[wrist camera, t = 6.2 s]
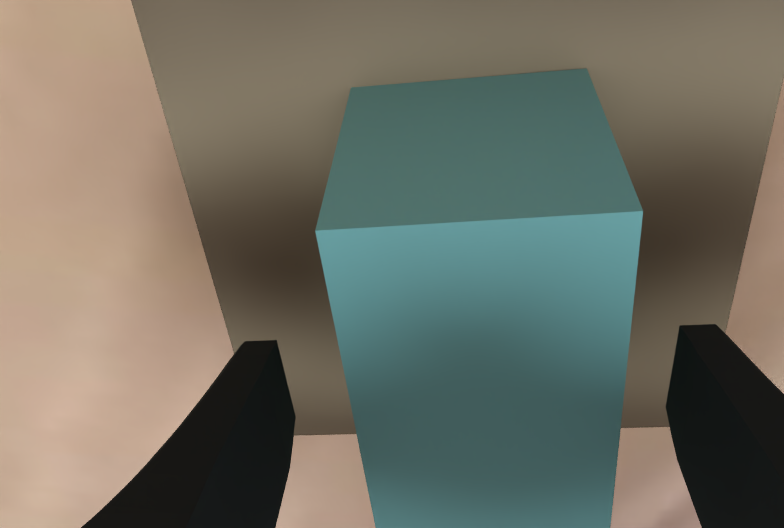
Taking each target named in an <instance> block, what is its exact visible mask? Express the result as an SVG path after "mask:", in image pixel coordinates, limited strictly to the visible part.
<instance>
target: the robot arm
mask: <svg viewBox="0 0 784 528" xmlns="http://www.w3.org/2000/svg"><path fill="white" fill-rule="evenodd" d="M666 412H667V416H668V421H669V425H670V430H671V435H672V439H673V443H674V447H675V452H676V456H677V460H678V463H679V466H680V469H681V471H682V474H683V477H684V480H685V483H686V485H687V488H688V491H689V494H690V496H691V499H692V502H693V505H694V507H695V510H696V513H697V516H698V518H699V521H700V524H701V526H702V528H784V394H783V393H782V392H781V391H780V390H779V389H778V388H777V387H776V386H775V385H774V384H773V383H772V382H771V381H770V380H769V379H768V378H767V377H766V376H765V375H764V374H763V373H762V372H761V370H760V369H759V368H758V367H757V366H756V365H755V364H754V363H753V362H752V361H751V360H750V359H749V358H748V357H747V356H746V355H745V354H744V353H743V352H742V351H741V350H740V348H739V347H738V346H737V345H736V344H735V343H734V342H733V341H732V340H731V339H730V338H729V337H728V336H727V335H726V334H725V333H724V332H723V331H722V330H721V329H720V328H719V327H718V326H717V325H716V324H703V325H680V326H679V332H678V337H677V343H676V349H675V355H674V361H673V366H672V372H671V378H670V384H669V390H668V395H667V401H666ZM295 418H296V416H295V412H294V408H293V404H292V400H291V396H290V392H289V388H288V384H287V379H286V375H285V371H284V367H283V363H282V359H281V355H280V351H279V347H278V343H277V340H264V341H244V342H243V344H242V345H241V346H240V347H239V348H238V350H237V351H236V352H235V354H234V355H233V356H232V358H231V359H230V361H229V362H228V363H227V365H226V366H225V367H224V369H223V370H222V372H221V373H220V374H219V376H218V377H217V378H216V380H215V381H214V382H213V384H212V385H211V386H210V388H209V389H208V390H207V392H206V393H205V394H204V396H203V397H202V398H201V400H200V401H199V402H198V403H197V405H196V406H195V407H194V408H193V410H192V411H191V412H190V413H189V415H188V416H187V417H186V418H185V420H184V421H183V422H182V424H181V425H180V426H179V427H178V428H177V430H176V431H175V432H174V433H173V434H172V436H171V437H170V438H169V439H168V440H167V441H166V442H165V444H164V445H163V446H162V447H161V448H160V449H159V450H158V452H157V453H156V454H155V455H154V456H153V457H152V458H151V460H150V461H149V462H148V463H147V464H146V465H145V466H144V467H143V468H142V470H141V471H140V472H139V473H138V474H137V475H136V476H135V477H134V478H133V479H132V480H131V481H130V482H129V483H128V484H127V485H126V486H125V487H124V488H123V489H122V490H121V491H120V492H119V493H118V494H117V495H116V496H115V497H114V498H113V499H112V500H111V501H110V502H109V503H108V504H107V505H106V506H105V507H104V508H103V509H102V510H100V511H99V512H98V513H97V514H96V515H95V516H94V517H93V518H92V519H90V520H89V521H88V522H87V523H86V524H85V525H84V526H82V527H81V528H275V526H276V522H277V518H278V514H279V510H280V506H281V502H282V498H283V494H284V490H285V486H286V481H287V477H288V473H289V468H290V462H291V454H292V446H293V437H294V427H295Z"/></svg>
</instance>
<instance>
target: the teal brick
mask: <svg viewBox="0 0 784 528" xmlns="http://www.w3.org/2000/svg"><path fill="white" fill-rule="evenodd" d="M642 218H643V209H642V207H641V204H640V202H639V199H638V197H637V194H636V192H635V189H634V187H633V184H632V182H631V179H630V176H629V174H628V171H627V169H626V166H625V164H624V161H623V159H622V156H621V154H620V151H619V149H618V146H617V144H616V141H615V139H614V136H613V133H612V131H611V128H610V126H609V123H608V121H607V118H606V116H605V113H604V111H603V108H602V106H601V103H600V101H599V98H598V96H597V93H596V90H595V88H594V85H593V83H592V80H591V78H590V75H589V73H588V70H587V68H586V69H573V70H561V71H549V72H536V73H524V74H512V75H499V76H487V77H475V78H462V79H450V80H438V81H425V82H413V83H401V84H388V85H376V86H364V87H352V88H351V89H350V93H349V97H348V101H347V105H346V109H345V113H344V117H343V121H342V125H341V129H340V133H339V137H338V141H337V145H336V149H335V153H334V157H333V161H332V165H331V169H330V173H329V177H328V181H327V185H326V189H325V193H324V197H323V201H322V205H321V209H320V213H319V217H318V221H317V225H316V229H315V232H316V237H317V242H318V247H319V252H320V257H321V262H322V267H323V271H324V276H325V281H326V286H327V291H328V296H329V301H330V306H331V311H332V316H333V321H334V325H335V330H336V335H337V340H338V345H339V350H340V355H341V360H342V365H343V370H344V374H345V379H346V384H347V389H348V394H349V399H350V404H351V409H352V414H353V419H354V423H355V428H356V433H357V438H358V443H359V448H360V453H361V458H362V463H363V468H364V472H365V477H366V482H367V487H368V492H369V497H370V502H371V507H372V512H373V517H374V521H375V526H376V528H610V524H611V515H612V505H613V496H614V486H615V476H616V467H617V457H618V448H619V438H620V429H621V419H622V409H623V400H624V390H625V381H626V371H627V361H628V352H629V342H630V333H631V323H632V313H633V304H634V294H635V285H636V275H637V266H638V256H639V246H640V237H641V227H642Z"/></svg>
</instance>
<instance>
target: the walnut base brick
mask: <svg viewBox="0 0 784 528" xmlns="http://www.w3.org/2000/svg"><path fill="white" fill-rule="evenodd" d="M131 1H132V5H133V8H134V12H135V15H136V19H137V22H138V25H139V29H140V32H141V36H142V39H143V43H144V46H145V49H146V53H147V56H148V60H149V63H150V67H151V70H152V73H153V77H154V80H155V84H156V87H157V91H158V94H159V97H160V101H161V104H162V108H163V111H164V114H165V118H166V121H167V125H168V128H169V132H170V135H171V138H172V142H173V145H174V149H175V152H176V156H177V159H178V162H179V166H180V169H181V173H182V176H183V180H184V183H185V186H186V190H187V193H188V197H189V200H190V204H191V207H192V210H193V214H194V217H195V221H196V224H197V228H198V231H199V234H200V238H201V241H202V245H203V248H204V252H205V255H206V258H207V262H208V265H209V269H210V272H211V275H212V279H213V282H214V286H215V289H216V293H217V296H218V299H219V303H220V306H221V310H222V313H223V317H224V320H225V323H226V327H227V330H228V334H229V337H230V341H231V344H232V347H233V351H234V354H235V352H236V351H237V350H238V348H239V347H240V346H241V345H242V344H243V342H244V341H264V340H277V343H278V347H279V351H280V355H281V359H282V363H283V367H284V371H285V375H286V379H287V384H288V388H289V392H290V396H291V400H292V404H293V408H294V412H295V416H296V418H295V427H294V435H330V434H357V433H356V428H355V423H354V419H353V414H352V409H351V404H350V399H349V394H348V389H347V384H346V379H345V374H344V370H343V365H342V360H341V355H340V350H339V345H338V340H337V335H336V330H335V325H334V321H333V316H332V311H331V306H330V301H329V296H328V291H327V286H326V281H325V276H324V271H323V267H322V262H321V257H320V252H319V247H318V242H317V237H316V232H315V229H316V225H317V221H318V217H319V213H320V209H321V205H322V201H323V197H324V193H325V189H326V185H327V181H328V177H329V173H330V169H331V165H332V161H333V157H334V153H335V149H336V145H337V141H338V137H339V133H340V129H341V125H342V121H343V117H344V113H345V109H346V105H347V101H348V97H349V93H350V89H351V88H352V87H364V86H376V85H388V84H401V83H413V82H425V81H438V80H450V79H462V78H475V77H487V76H499V75H512V74H524V73H536V72H549V71H561V70H573V69H586V68H587V70H588V73H589V75H590V78H591V80H592V83H593V85H594V88H595V90H596V93H597V96H598V98H599V101H600V103H601V106H602V108H603V111H604V113H605V116H606V118H607V121H608V123H609V126H610V128H611V131H612V133H613V136H614V139H615V141H616V144H617V146H618V149H619V151H620V154H621V156H622V159H623V161H624V164H625V166H626V169H627V171H628V174H629V176H630V179H631V182H632V184H633V187H634V189H635V192H636V194H637V197H638V199H639V202H640V204H641V207H642V209H643V218H642V227H641V237H640V246H639V256H638V266H637V275H636V285H635V294H634V304H633V313H632V323H631V333H630V342H629V352H628V361H627V371H626V381H625V390H624V400H623V409H622V419H621V428H637V427H670V425H669V421H668V416H667V412H666V401H667V395H668V390H669V384H670V378H671V372H672V366H673V361H674V355H675V349H676V343H677V337H678V332H679V326H680V325H703V324H716V325H717V326H718V327H719V328H720V329H721V330H722V331H723V332H724V333H725V332H726V327H727V323H728V319H729V314H730V310H731V306H732V301H733V297H734V292H735V288H736V284H737V279H738V275H739V270H740V266H741V262H742V257H743V253H744V249H745V244H746V240H747V235H748V231H749V227H750V222H751V218H752V213H753V209H754V205H755V200H756V196H757V192H758V187H759V183H760V178H761V174H762V170H763V165H764V161H765V156H766V152H767V148H768V143H769V139H770V135H771V130H772V126H773V121H774V117H775V113H776V108H777V104H778V99H779V95H780V91H781V86H782V82H783V77H784V0H131Z"/></svg>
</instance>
